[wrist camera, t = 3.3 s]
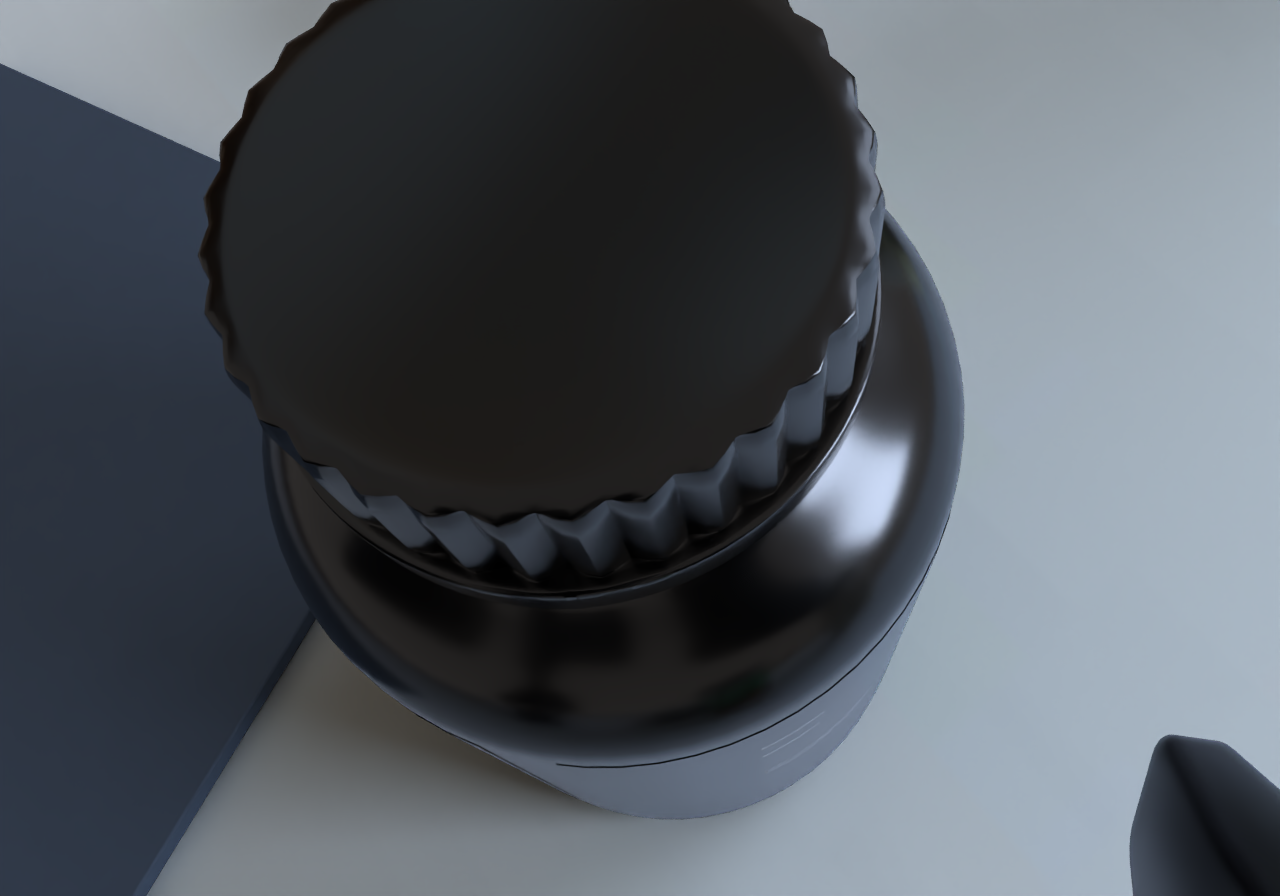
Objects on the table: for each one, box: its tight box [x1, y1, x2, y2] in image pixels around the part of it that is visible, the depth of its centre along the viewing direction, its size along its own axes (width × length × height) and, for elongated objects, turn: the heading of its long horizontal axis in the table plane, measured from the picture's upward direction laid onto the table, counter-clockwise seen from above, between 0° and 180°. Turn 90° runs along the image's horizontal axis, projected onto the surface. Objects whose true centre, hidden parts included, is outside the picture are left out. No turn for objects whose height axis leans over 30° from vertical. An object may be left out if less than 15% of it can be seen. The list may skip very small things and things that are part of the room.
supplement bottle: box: [198, 0, 964, 819], centre depth 14 cm, size 7×7×12 cm
